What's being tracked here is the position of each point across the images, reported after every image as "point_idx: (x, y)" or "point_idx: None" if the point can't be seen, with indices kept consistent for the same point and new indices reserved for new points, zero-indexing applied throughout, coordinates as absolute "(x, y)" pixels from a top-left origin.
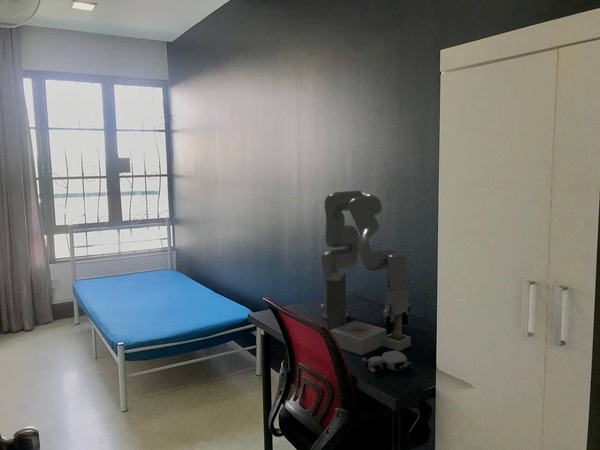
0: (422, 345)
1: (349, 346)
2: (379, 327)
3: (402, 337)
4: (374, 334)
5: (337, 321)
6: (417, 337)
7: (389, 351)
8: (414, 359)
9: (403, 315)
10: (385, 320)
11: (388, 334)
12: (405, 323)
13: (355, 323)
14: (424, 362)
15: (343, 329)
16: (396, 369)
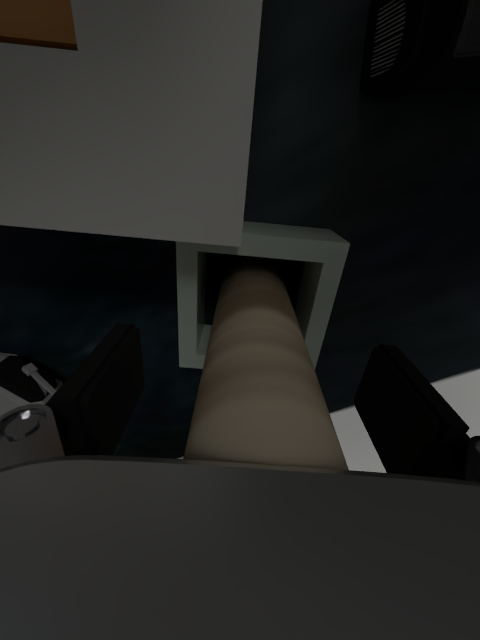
0: (329, 384)
1: None
2: (243, 139)
3: (303, 322)
4: (25, 223)
5: None
6: (441, 323)
7: (2, 396)
8: (156, 416)
9: (413, 461)
10: (17, 410)
11: (268, 236)
12: (362, 403)
13: None
14: (160, 447)
15: None
16: None
